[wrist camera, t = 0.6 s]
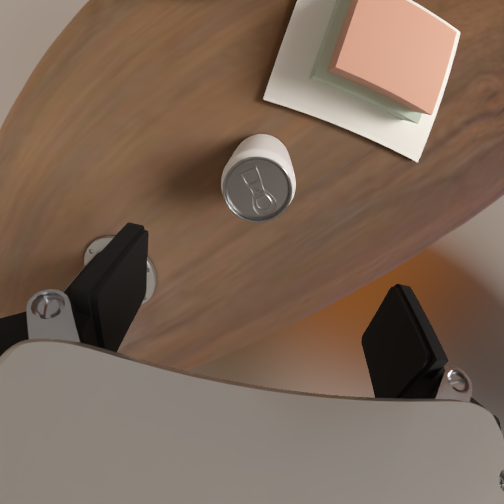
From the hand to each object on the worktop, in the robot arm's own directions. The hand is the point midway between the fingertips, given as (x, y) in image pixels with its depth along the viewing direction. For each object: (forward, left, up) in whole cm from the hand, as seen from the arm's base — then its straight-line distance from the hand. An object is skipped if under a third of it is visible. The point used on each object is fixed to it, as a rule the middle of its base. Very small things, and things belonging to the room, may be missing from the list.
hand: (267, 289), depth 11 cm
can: (-1, +1, -27) cm, 27 cm away
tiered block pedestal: (+16, -7, -26) cm, 31 cm away
